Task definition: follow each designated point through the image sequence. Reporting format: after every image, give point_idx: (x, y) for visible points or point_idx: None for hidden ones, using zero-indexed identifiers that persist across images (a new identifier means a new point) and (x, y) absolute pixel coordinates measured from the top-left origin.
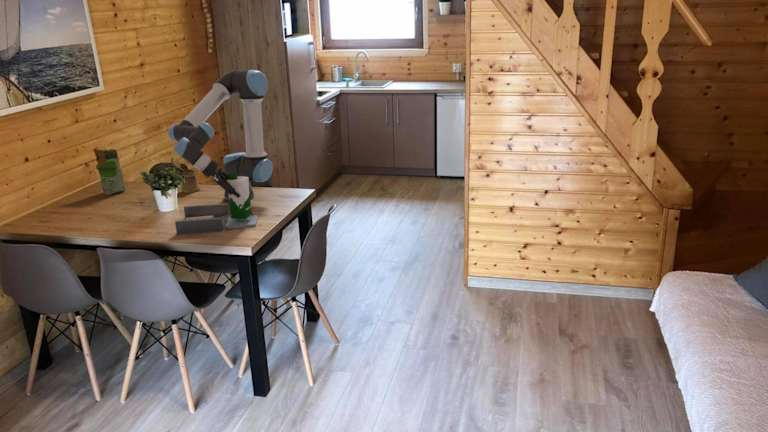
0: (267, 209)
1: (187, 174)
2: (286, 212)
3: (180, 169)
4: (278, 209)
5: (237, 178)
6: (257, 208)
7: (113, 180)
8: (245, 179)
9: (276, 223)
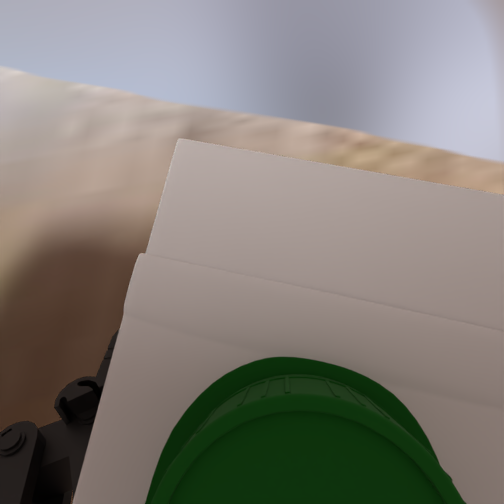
0: (66, 222)
1: None
2: (144, 106)
3: None
4: (81, 159)
5: (330, 358)
6: (33, 288)
7: None
8: (347, 171)
9: (327, 128)
